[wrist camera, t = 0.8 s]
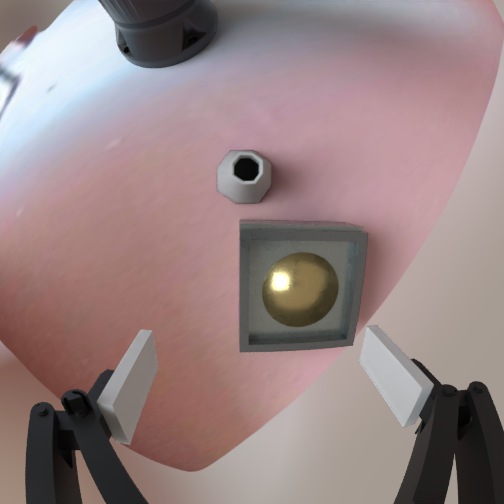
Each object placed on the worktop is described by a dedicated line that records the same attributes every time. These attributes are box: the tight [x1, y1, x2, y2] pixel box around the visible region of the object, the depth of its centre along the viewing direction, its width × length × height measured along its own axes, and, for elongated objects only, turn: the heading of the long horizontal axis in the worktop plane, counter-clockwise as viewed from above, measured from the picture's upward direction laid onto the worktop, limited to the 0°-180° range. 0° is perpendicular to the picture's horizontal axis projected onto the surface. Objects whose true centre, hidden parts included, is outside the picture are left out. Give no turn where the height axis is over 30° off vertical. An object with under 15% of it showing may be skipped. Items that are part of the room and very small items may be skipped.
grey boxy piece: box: [239, 220, 368, 352], centre depth 33 cm, size 15×14×8 cm
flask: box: [217, 150, 271, 204], centre depth 29 cm, size 7×7×10 cm
